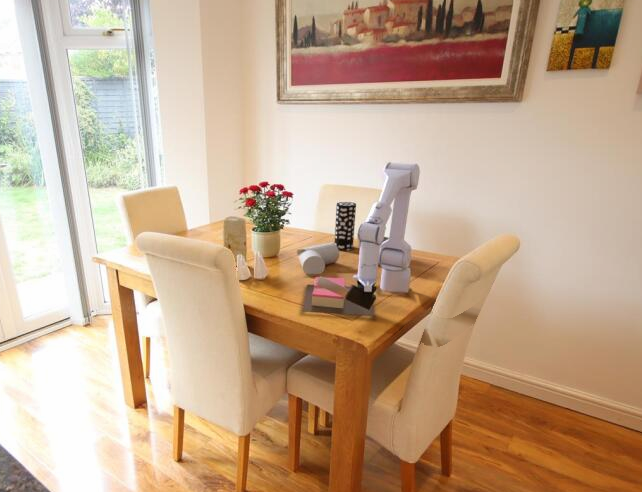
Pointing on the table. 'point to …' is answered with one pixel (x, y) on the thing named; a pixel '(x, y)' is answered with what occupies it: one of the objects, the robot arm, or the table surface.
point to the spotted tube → (345, 225)
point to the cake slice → (327, 299)
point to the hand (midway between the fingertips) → (364, 304)
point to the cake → (336, 280)
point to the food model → (235, 236)
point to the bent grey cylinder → (317, 257)
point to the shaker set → (259, 267)
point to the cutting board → (347, 309)
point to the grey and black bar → (344, 291)
